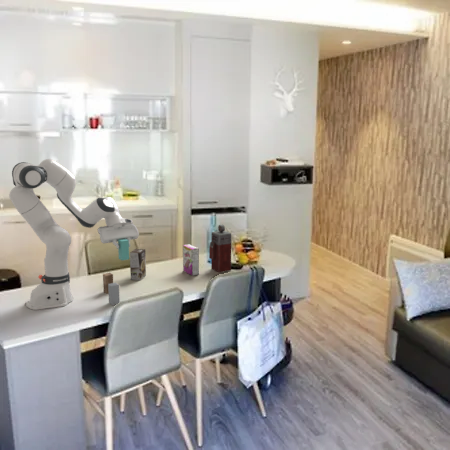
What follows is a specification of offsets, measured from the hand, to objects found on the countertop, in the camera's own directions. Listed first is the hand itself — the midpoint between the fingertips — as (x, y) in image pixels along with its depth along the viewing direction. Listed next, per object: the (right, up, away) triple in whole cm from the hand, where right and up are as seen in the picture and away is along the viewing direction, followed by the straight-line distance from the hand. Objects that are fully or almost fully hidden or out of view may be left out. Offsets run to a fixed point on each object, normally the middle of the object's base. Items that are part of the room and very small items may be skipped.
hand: (124, 247), depth 262 cm
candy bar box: (+31, -18, +46) cm, 58 cm away
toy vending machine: (+48, -16, +52) cm, 73 cm away
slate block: (-4, -28, -5) cm, 29 cm away
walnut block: (-10, -24, +11) cm, 29 cm away
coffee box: (+1, -19, +36) cm, 41 cm away
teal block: (0, -6, +2) cm, 6 cm away
